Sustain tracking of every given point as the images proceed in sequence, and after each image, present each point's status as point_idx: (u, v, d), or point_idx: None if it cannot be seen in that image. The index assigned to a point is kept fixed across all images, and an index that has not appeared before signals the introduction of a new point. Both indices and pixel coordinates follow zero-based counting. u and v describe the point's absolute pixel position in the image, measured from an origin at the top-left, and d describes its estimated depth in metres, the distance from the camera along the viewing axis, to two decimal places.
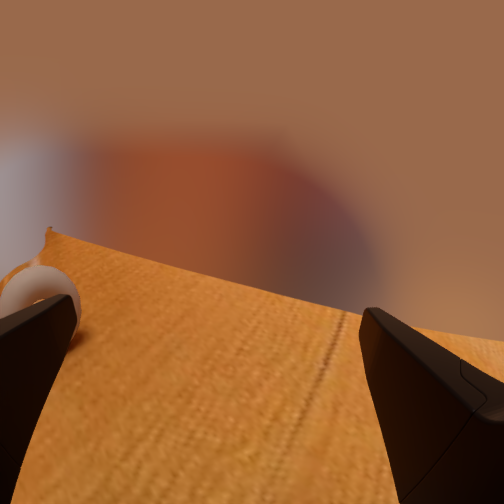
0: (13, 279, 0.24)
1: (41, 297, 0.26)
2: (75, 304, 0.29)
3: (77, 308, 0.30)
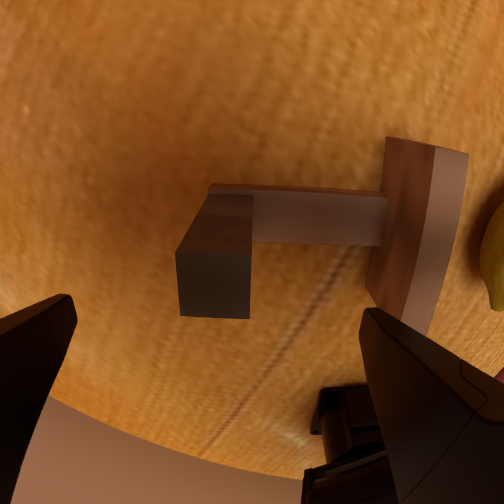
0: None
1: None
2: None
3: None
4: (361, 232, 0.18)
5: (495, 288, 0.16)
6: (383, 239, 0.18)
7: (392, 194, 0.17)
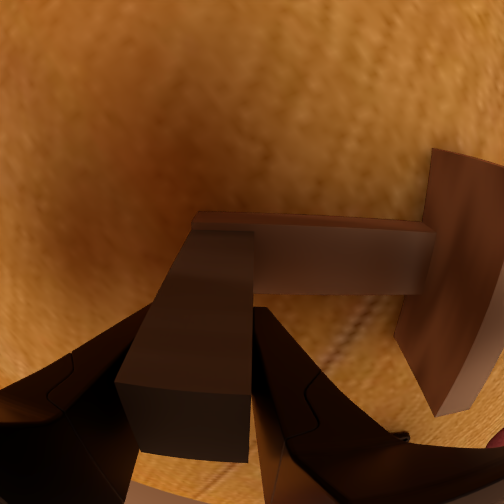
0: None
1: None
2: None
3: None
4: (399, 278, 0.13)
5: None
6: (425, 286, 0.13)
7: (442, 229, 0.12)
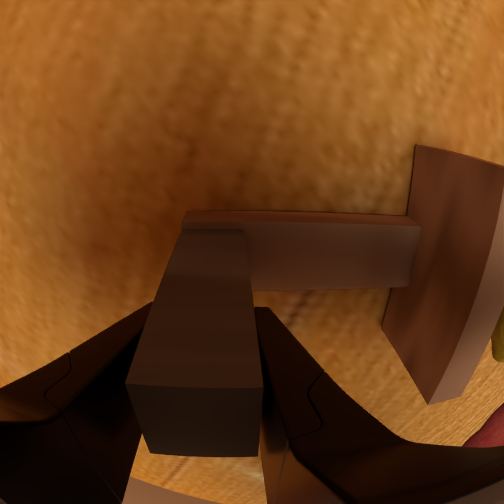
0: None
1: None
2: None
3: None
4: (386, 271, 0.14)
5: (500, 337, 0.12)
6: (412, 278, 0.14)
7: (428, 222, 0.12)
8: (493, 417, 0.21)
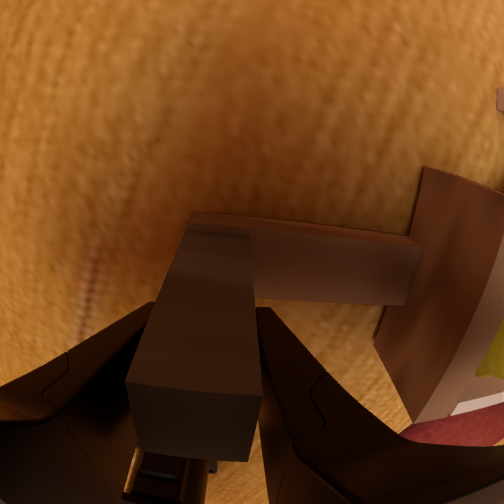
0: None
1: None
2: None
3: None
4: (384, 289, 0.14)
5: None
6: (408, 298, 0.14)
7: (429, 244, 0.13)
8: None
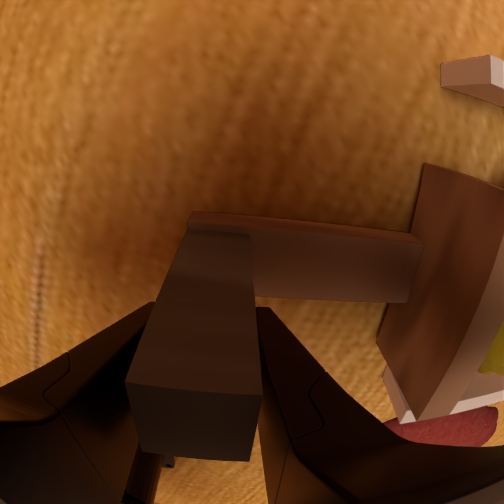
0: None
1: None
2: None
3: None
4: (386, 286, 0.14)
5: None
6: (410, 295, 0.14)
7: (430, 241, 0.12)
8: None
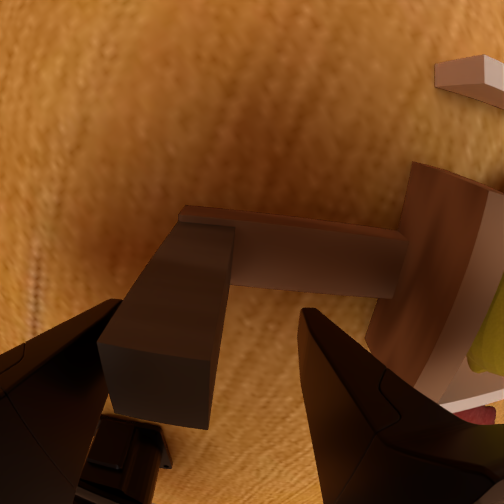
0: None
1: None
2: None
3: None
4: (370, 281, 0.14)
5: (467, 355, 0.12)
6: (395, 291, 0.14)
7: (414, 238, 0.13)
8: None
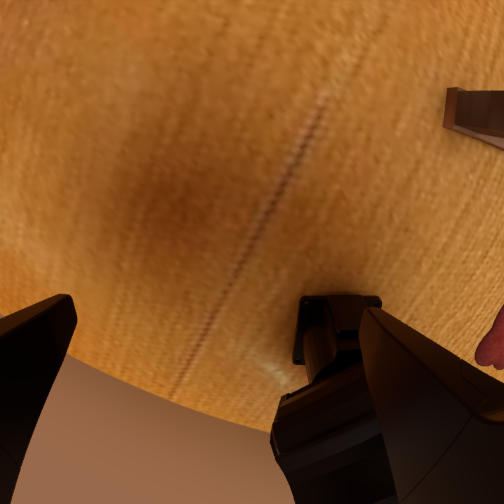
0: None
1: None
2: None
3: None
4: None
5: None
6: None
7: None
8: (501, 313, 0.24)
